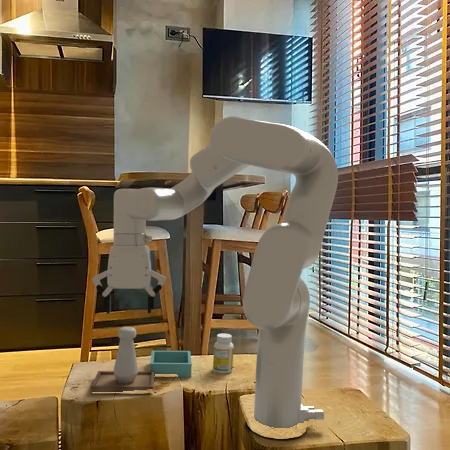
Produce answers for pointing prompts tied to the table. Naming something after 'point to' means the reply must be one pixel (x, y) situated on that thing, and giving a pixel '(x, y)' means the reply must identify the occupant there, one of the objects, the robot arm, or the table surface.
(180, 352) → the collar
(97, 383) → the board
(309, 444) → the table surface
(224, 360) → the supplement bottle
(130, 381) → the salt shaker
